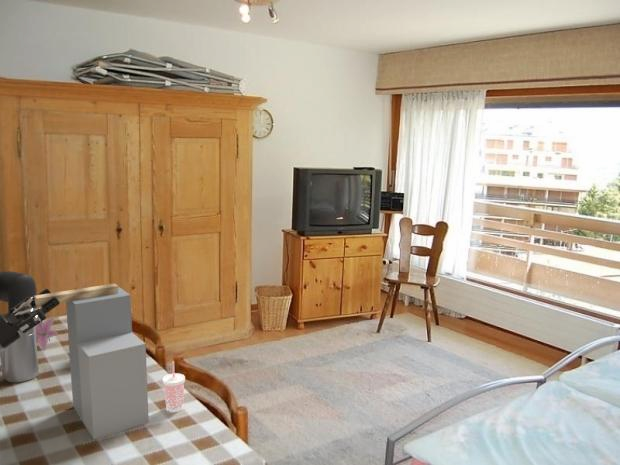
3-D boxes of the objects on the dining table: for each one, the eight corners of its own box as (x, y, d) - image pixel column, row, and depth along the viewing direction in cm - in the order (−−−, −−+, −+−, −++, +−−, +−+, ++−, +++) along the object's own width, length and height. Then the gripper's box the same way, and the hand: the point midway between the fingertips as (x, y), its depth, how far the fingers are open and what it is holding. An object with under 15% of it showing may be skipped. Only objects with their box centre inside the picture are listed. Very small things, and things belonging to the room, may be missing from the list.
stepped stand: (93, 439, 132) (86, 315, 126) (73, 406, 148) (65, 294, 142) (148, 422, 140) (143, 304, 135) (123, 392, 156) (118, 286, 150)
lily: (22, 345, 192) (14, 328, 186) (52, 325, 199) (44, 308, 193) (41, 362, 187) (33, 345, 180) (71, 341, 194) (64, 324, 188)
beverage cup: (166, 415, 144) (164, 367, 141) (161, 405, 149) (159, 358, 147) (188, 410, 147) (187, 363, 144) (182, 400, 152) (181, 354, 149)
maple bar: (37, 306, 132) (36, 298, 131) (34, 303, 134) (34, 295, 134) (118, 293, 144) (118, 286, 143) (115, 290, 146) (114, 283, 146)
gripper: (-1, 339, 135) (56, 299, 142) (8, 358, 124) (69, 313, 131) (-21, 318, 132) (38, 278, 139) (-14, 335, 121) (50, 291, 128)
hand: (53, 295), depth 135 cm, fingers open, 8 cm apart
